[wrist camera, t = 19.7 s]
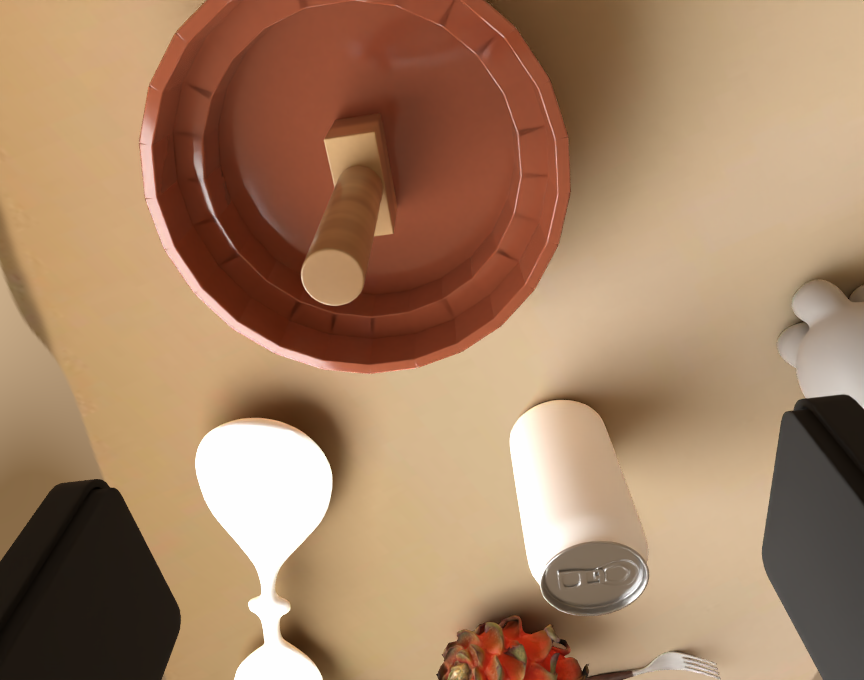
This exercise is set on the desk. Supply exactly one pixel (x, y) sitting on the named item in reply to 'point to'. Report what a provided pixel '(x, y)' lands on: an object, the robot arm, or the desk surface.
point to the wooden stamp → (351, 210)
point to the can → (577, 511)
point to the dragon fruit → (508, 655)
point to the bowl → (312, 180)
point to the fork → (664, 666)
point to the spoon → (266, 519)
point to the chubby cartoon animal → (826, 341)
